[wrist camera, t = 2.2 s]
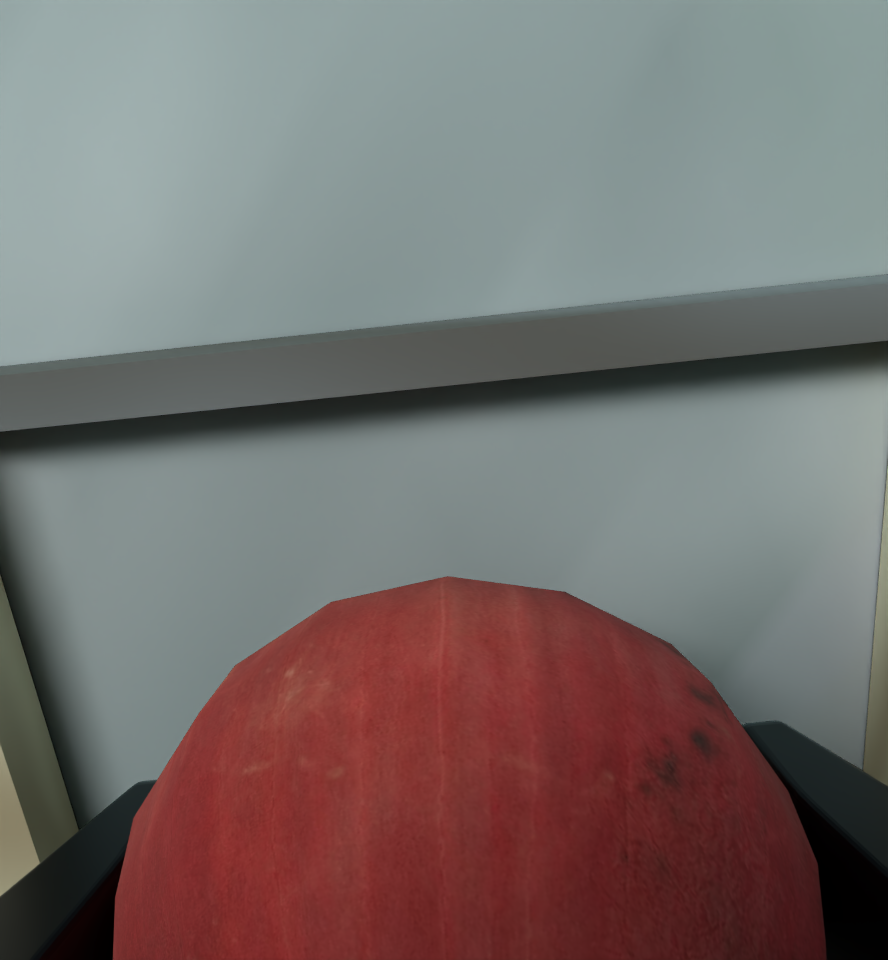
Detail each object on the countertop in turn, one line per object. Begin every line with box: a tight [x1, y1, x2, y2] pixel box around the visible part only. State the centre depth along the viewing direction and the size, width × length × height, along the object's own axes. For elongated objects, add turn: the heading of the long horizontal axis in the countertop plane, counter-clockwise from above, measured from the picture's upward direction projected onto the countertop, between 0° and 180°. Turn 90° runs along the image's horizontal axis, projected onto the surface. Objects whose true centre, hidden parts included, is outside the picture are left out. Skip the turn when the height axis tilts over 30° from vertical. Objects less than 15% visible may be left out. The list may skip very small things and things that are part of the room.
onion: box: [113, 576, 827, 960], centre depth 7 cm, size 6×6×8 cm
